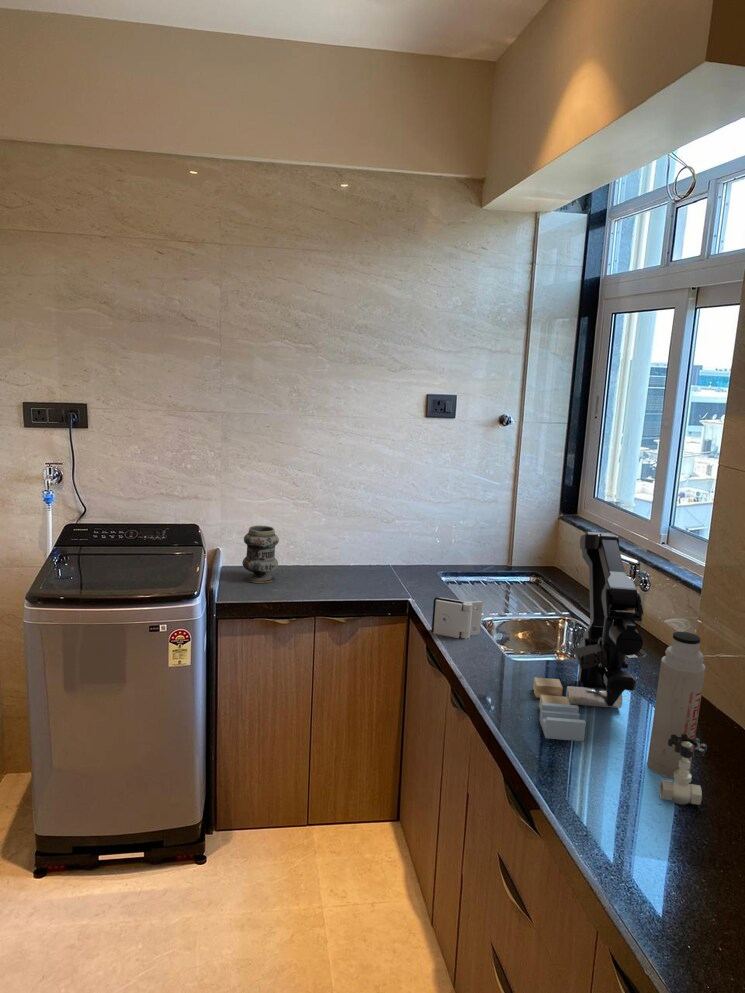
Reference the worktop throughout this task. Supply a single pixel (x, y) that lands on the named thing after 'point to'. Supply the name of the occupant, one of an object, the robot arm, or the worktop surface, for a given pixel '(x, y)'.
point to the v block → (562, 722)
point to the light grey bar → (590, 697)
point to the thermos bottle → (676, 701)
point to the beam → (549, 691)
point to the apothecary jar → (260, 553)
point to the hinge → (456, 617)
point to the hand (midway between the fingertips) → (607, 701)
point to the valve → (683, 772)
